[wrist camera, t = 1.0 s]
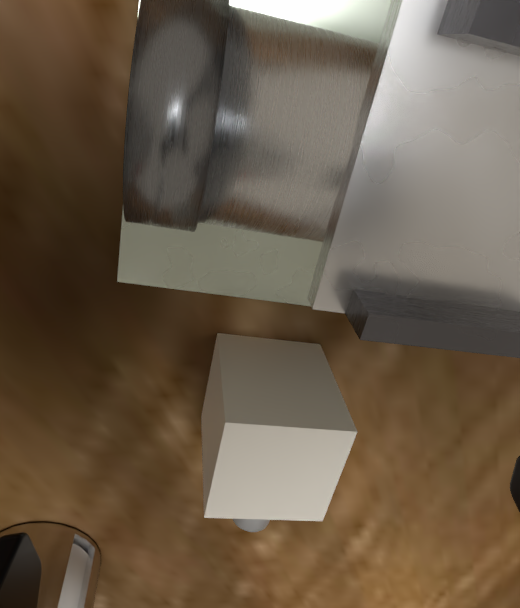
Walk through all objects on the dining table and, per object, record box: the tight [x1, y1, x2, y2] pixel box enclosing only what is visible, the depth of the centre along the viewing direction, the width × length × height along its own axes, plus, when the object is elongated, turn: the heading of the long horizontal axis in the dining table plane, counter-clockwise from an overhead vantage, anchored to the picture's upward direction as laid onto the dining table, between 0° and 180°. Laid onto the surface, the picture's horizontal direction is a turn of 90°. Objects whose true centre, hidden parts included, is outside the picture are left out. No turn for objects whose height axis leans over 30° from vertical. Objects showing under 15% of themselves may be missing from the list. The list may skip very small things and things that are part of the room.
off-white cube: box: [201, 333, 357, 532], centre depth 22 cm, size 5×7×6 cm
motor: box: [117, 0, 520, 358], centre depth 15 cm, size 20×14×8 cm
